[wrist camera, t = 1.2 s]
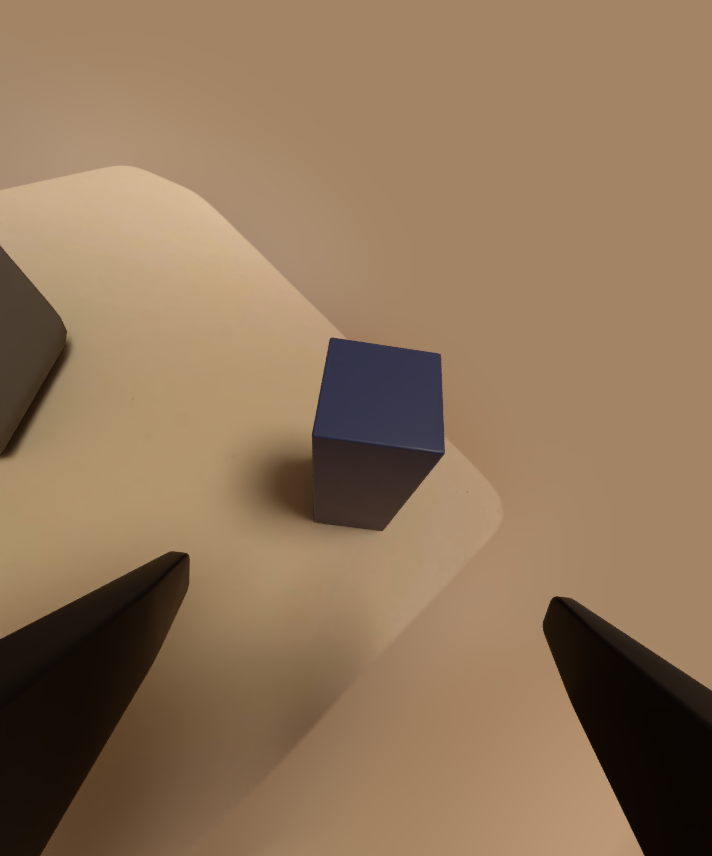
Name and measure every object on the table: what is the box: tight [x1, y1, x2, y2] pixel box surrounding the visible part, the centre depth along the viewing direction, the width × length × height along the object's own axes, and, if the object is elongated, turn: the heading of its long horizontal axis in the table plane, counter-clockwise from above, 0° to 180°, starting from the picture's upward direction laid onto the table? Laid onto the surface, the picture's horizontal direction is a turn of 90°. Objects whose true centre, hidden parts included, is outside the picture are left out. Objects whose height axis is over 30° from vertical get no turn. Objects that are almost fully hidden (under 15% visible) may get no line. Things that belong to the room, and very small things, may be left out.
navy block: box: [312, 338, 445, 531], centre depth 18 cm, size 5×5×12 cm
